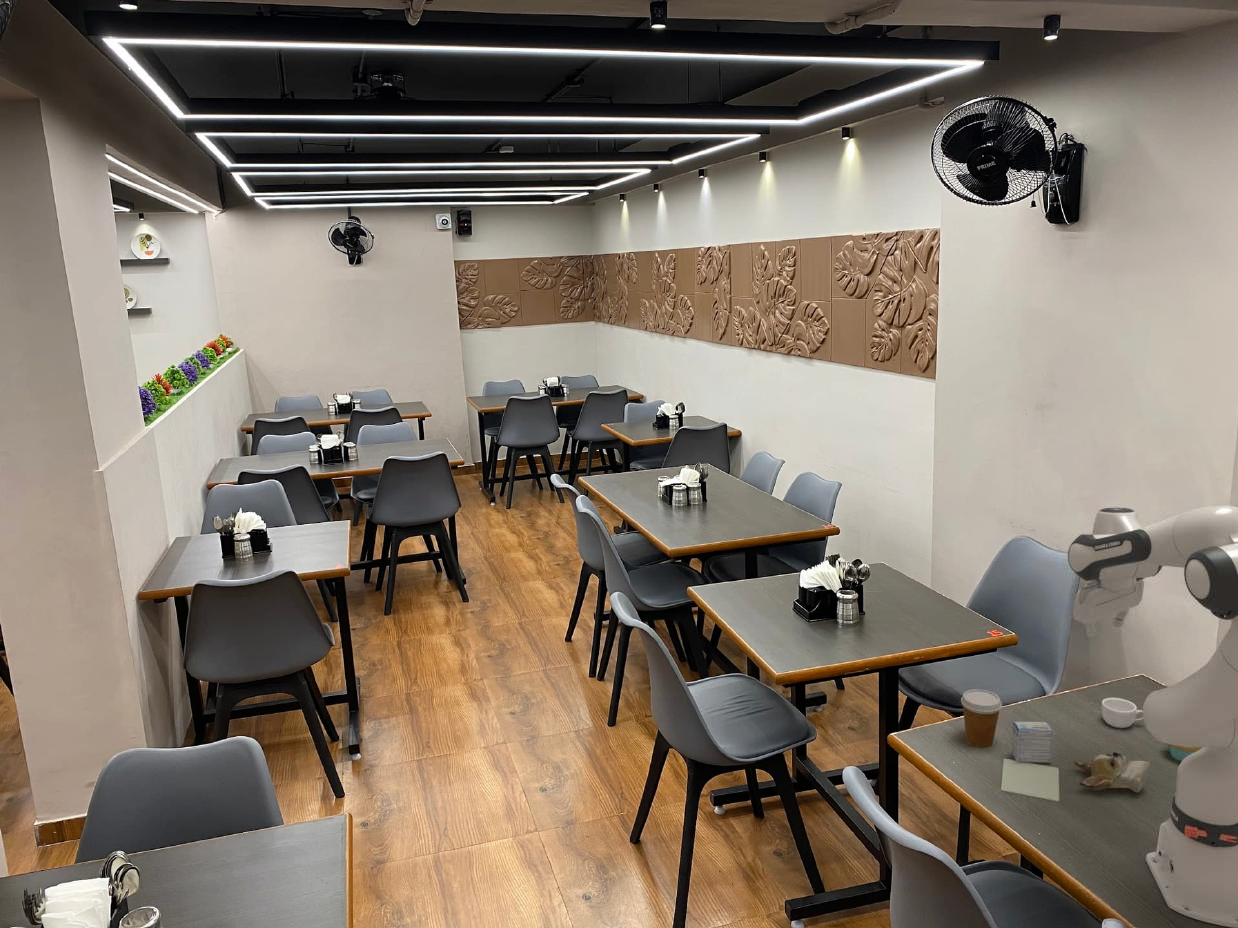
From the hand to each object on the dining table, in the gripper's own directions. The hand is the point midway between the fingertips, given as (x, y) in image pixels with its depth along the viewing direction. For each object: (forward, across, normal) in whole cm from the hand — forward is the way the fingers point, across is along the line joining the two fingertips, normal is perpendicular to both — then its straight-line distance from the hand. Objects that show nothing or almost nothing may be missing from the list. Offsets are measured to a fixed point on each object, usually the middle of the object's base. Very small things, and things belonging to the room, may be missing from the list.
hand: (1105, 630), depth 207 cm
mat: (+33, -20, +2) cm, 39 cm away
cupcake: (+34, +18, -11) cm, 40 cm away
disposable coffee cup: (+34, -16, +20) cm, 43 cm away
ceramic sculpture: (+34, -6, -9) cm, 36 cm away
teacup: (+34, +21, +6) cm, 41 cm away
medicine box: (+34, -12, +8) cm, 37 cm away
